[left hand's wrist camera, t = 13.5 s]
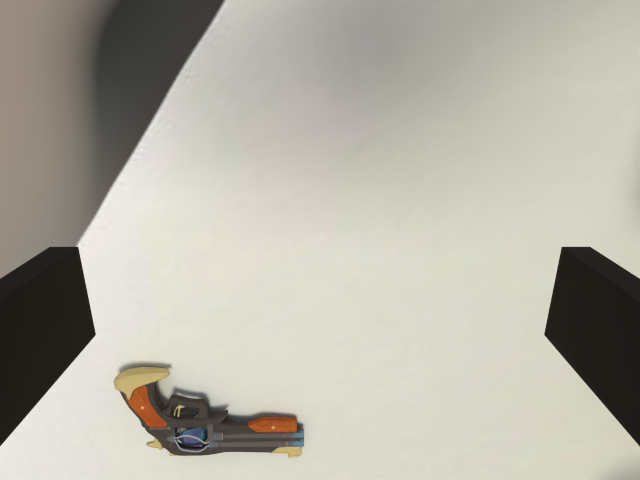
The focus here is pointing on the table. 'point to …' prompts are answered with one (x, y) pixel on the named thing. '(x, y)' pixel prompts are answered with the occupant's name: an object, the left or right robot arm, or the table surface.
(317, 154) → the table surface
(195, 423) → the toy gun
